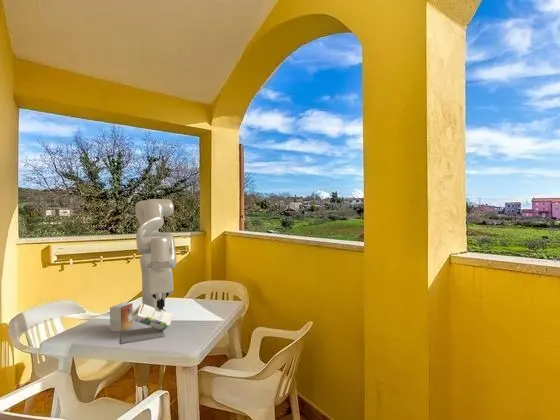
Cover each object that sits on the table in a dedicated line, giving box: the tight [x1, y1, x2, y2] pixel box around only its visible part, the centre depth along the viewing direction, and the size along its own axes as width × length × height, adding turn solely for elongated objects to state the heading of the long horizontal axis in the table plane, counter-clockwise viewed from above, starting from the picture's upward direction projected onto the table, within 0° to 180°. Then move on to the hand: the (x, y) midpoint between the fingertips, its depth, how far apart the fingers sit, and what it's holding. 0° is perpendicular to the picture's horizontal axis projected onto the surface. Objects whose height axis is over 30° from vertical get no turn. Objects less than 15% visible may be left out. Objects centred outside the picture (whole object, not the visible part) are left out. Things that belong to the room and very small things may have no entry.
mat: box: [120, 326, 165, 345], centre depth 134 cm, size 14×16×1 cm
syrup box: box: [132, 303, 174, 332], centre depth 135 cm, size 6×6×14 cm
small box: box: [109, 302, 133, 333], centre depth 142 cm, size 8×6×10 cm
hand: (160, 309), depth 137 cm, fingers closed
